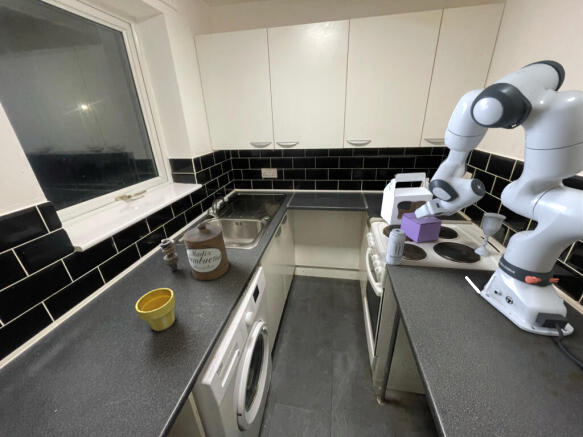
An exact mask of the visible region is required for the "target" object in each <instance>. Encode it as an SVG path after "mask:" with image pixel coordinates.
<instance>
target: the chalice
mask: <svg viewBox="0 0 583 437" xmlns="http://www.w3.org/2000/svg"><path fill="white" fill-rule="evenodd" d="M483 216H484V217H483V221H482V223H481V229H482V232H483V235H484V236H485V237H484V238H483V242H482V246H478V247H477V248H476V249H474V253H475V254H477V255H479V256H483V257H488V256H489V255H490V254H489V249H488V248H487V247H486V246H487V245H488V241H489V237H492V236H494V235H495V234H496V233H497V232H499V230H501V227H502V225H503V223H504V221H505V220H506V219H507V217H506V216H505V215H503V214H500V213H495V212H485V213H483Z"/></svg>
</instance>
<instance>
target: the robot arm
mask: <svg viewBox="0 0 583 437" xmlns="http://www.w3.org/2000/svg"><path fill="white" fill-rule="evenodd" d="M565 79H566V69H565V67H564V66H563V65H562V64H561V63H559V62H558V61H555V60H550V59H543V60H539V61H538V60H537V61H535V62H531V63H529V64H527V65H524V66H523V67H520V69H517V70H515V71H513V72H510V73H508V74H506V75H504V76H503V77H501V78H499V79H498V80H496V81H495V82H494V83H492V84H491V85H488V86H486V87H485V88H477V89H476V88H475V89H472V90H470V91H467V92H466V93H464V94H463V95H462V96H461V97H460V99H459V101H458V102H457V104H456V105H455V107H454V110H453V111H452V113H451V116H450V118H449V120H448V123H447V126H446V129H445V133H444V138H443V139H444V145H445V146H446V147H447V148H448V149H449V153H448V156H447V157H446V158H445V159H444V160H443V161H442V162H441V163H440V164H439V166H438V168H437V170H436V171H435V173H434V174H433V176H432V178H431V179H430V180H429V184H428V189H429V191H430V192H431V193H432V194H433V197H435V198H432V200H429V201H427V202H426V204H425V205H423V206H421V207H420V208H418V209H417V210H416V211H415V215H416V217H417V218H418V219H419V218H431V217H441V216H452V215H454V214H455V213H458V212H460V211H462V210H463V209H464V208H468V207H470V206H472V205H474V204H476V203H477V202H478V201H480V200H481V199H482V198H483V197H484V196H485V193H486V186H485V185H484V183H483V181H481V180H480V179H479V178H471V179H470V178H464V177H465V175H466V174H467V172H468V164H467V160H468V157H469V155H470V152H471V151H474V150H475V149H477V147H479V145H480V144H481V142H483V139H484V138H485V137H486V135H487V132H488V130H489V129H504V130H515V129H516V128H518V127H520V126H521V127H522V128H523V130H524V159H523V160H524V161H523V170H522V172H521V175H520V176H519V178H518V179H515V180H512V182H510V183H509V184H507V185H506V186H505V187H504V188H503V190H502V192H501V195H500V201H501V202H500V203H501V204H502V205H503V206H504V207H506V208H507V209H508V210H510V211H512V212H514V213H515V214H517V215H520V216H523V217H524V218H527V219H530V220H532V221H535V222H537V225H536V227H535V228H534V230H533V229H532V230H522V231H518V232H516V233H514V234H513V235H512V236H511V237H510V238H509V241H508V243H507V246H506V248H505V251H504V253H502V254H501V256H500V258H499V259H498V264H497V265H498V267H497V268H496V270H495V271H494V272H493V274H492V275H491V277H490V278H489V280H488V281H487V283H485V285H484V286H483V289H482V290H481V291H480V290H479V288H478V287H477V286H476V285H475V284H474V283H473V282H472V281H471V279H470V278H469V277H468V276H465V279H466V281H468V283H469V284H470V285H471V286H472V287H473V289H474V290H475V291H476V292H477V293H478V294H479V295H480V297H482V298H483V299H484V300H486V301H487V302H488V303H489V304H490V305H491V306H492V307H494V308H495V309H497V310H498V312H500V313H501V314H503V315H504V316H505V317H506V318H507V319H508V320H510V321H511V322H512V323H513V324H515V325H516V326H517V327H518V328H520V329H521V330H523V331H525V332H528V333H532V334H536V335H542V336H549V337H550V336H552V337H557V339H556V344H557V346H558V347H559V348H560V350H561V351H563V352H564V353H565V354H566V355H567V356H568V357H569V358H570V359H571V360H572V361H573V362H574V363H576V364H577V365H578V366H579V367H580V368H582V369H583V362H582V361H581V360H579V359H578V358H576V357H575V356H573V354H572V353H570V352H569V351H568V350H567V349H566V348H565V346H564V345H563V340H564V339H565V337H566V336H570V335H571V334H573V332H574V330H575V329H574V327H573V326H572V325H571V324H570V323H569V322H570V320H569V319H568V318H567V313H568V310H567V307H566V306H565V304H564V303H565V302H564V299H563V298H562V297H561V296H560V295H559V293H558V292H557V290H556V289H555V286H554V285H553V283H558V282H559V280H560V279H559V278H554V269H553V268H554V267H555V265H556V263H557V262H558V259H559V258H560V256H561V255H562V253H563V252H564V251H565V250H566V249H567V248H568V247H569V246H571V245H572V244H574V243H577V242H579V241H583V190H582V189H577V188H573V187H569V186H566V185H564V183H563V180H565V179H568V178H571V177H574V176H576V175H578V174H580V173H582V172H583V91H582V90H578V89H577V90H576V89H572V90H571V89H570V90H569V89H568V90H562V91H559V90H560V89H561V88H562V86H563V84H564V82H565Z"/></svg>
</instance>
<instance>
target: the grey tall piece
mask: <svg viewBox="0 0 583 437" xmlns="http://www.w3.org/2000/svg"><path fill="white" fill-rule="evenodd" d="M159 247H160V250H161V252H162V253H163V254H166V255H165V256H164V257H163V260H164V263H165V265H167V266H168V267H169V270H170V271H172V272H175V271H176V269H178V263H179V256H178V253H177V252H176V249H177V248H176V243H175V240H173V239H171V238H163V239H162V240H161V243H159Z"/></svg>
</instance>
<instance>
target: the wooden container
mask: <svg viewBox="0 0 583 437" xmlns="http://www.w3.org/2000/svg"><path fill="white" fill-rule="evenodd" d="M182 237H183V242H184V245H185V249H186V253H187V257H188V261H189V266H190V269H191V272H192V276H193V277H194V278H195V279H197V280H199V281H210V280H214V279H217V278H220V277H222V276H223V275H224V274H226V273H227V271H228V270H229V267H230V265H229V259H228V253H227V248H226V244H225V239H224V234H223V230H222V227H221V226H219V225H216V224H206V223H204V222H198V224H197V225H196V226H195V227H193V228H192V227H191V228H190V229H188V230H187V231H185V232H184V234H183V236H182Z"/></svg>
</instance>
